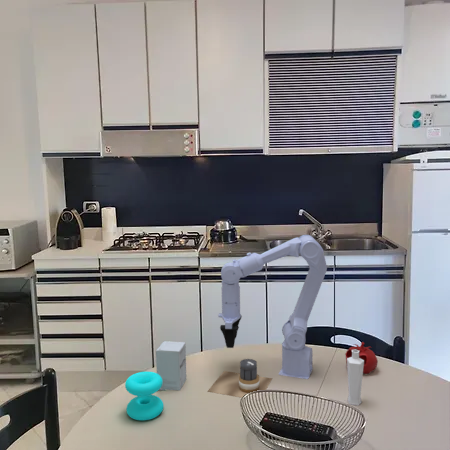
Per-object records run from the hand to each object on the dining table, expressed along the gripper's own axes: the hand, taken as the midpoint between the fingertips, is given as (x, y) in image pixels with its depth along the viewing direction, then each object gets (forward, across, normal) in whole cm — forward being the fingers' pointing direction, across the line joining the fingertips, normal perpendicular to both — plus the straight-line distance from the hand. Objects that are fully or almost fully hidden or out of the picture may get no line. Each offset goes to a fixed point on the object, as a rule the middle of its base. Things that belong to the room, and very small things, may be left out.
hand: (231, 342), depth 148 cm
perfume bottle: (+10, +14, +36) cm, 40 cm away
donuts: (+11, +25, -21) cm, 34 cm away
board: (+10, +8, +4) cm, 14 cm away
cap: (+6, +10, +6) cm, 13 cm away
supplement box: (+10, +10, -17) cm, 22 cm away
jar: (+10, +10, +6) cm, 15 cm away
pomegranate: (+10, -6, +41) cm, 43 cm away
